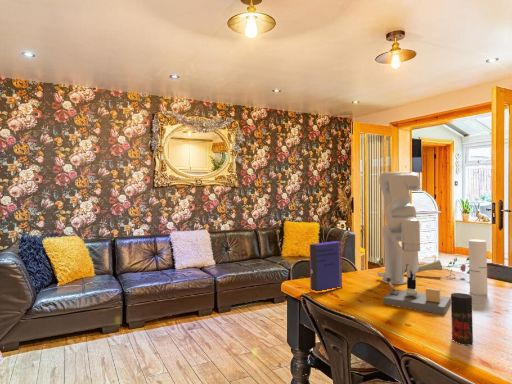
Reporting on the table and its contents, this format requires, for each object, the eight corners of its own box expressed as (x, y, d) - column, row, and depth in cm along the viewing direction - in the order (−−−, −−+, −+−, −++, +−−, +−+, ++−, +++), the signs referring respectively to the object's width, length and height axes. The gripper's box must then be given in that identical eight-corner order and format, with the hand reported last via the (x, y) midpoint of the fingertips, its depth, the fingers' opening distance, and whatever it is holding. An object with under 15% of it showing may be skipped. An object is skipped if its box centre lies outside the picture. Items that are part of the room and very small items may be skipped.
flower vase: (409, 286, 211) (474, 275, 201) (410, 285, 200) (479, 274, 190) (404, 266, 215) (467, 255, 205) (404, 264, 204) (471, 252, 194)
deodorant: (448, 338, 119) (447, 293, 119) (464, 337, 119) (463, 292, 119) (459, 345, 113) (458, 298, 113) (477, 344, 113) (476, 297, 113)
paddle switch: (426, 300, 148) (425, 288, 148) (427, 299, 150) (426, 287, 150) (439, 302, 145) (438, 290, 145) (440, 301, 147) (439, 289, 147)
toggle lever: (391, 291, 160) (384, 278, 161) (392, 290, 161) (386, 277, 163) (395, 290, 159) (388, 277, 160) (396, 289, 160) (390, 276, 162)
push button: (405, 294, 155) (405, 290, 155) (407, 292, 158) (407, 287, 158) (416, 296, 152) (415, 291, 152) (418, 293, 156) (418, 289, 156)
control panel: (383, 304, 155) (383, 296, 155) (393, 295, 168) (393, 288, 168) (444, 314, 140) (444, 306, 140) (451, 304, 153) (450, 296, 153)
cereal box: (335, 286, 187) (334, 240, 187) (342, 288, 183) (341, 241, 183) (310, 291, 177) (309, 244, 177) (317, 293, 173) (316, 245, 173)
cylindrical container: (490, 295, 165) (488, 241, 165) (473, 294, 166) (472, 241, 166) (483, 290, 172) (482, 239, 172) (467, 290, 173) (466, 239, 173)
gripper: (406, 244, 164) (407, 283, 164) (397, 248, 152) (397, 291, 152) (423, 245, 159) (424, 285, 159) (415, 250, 147) (416, 294, 147)
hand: (411, 288), depth 156 cm, fingers closed
